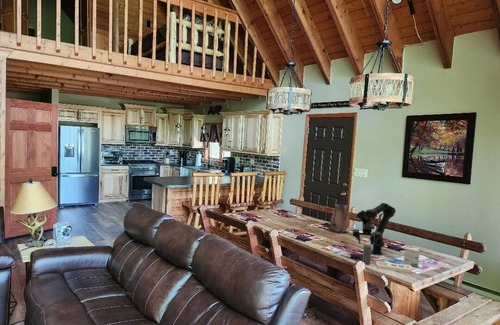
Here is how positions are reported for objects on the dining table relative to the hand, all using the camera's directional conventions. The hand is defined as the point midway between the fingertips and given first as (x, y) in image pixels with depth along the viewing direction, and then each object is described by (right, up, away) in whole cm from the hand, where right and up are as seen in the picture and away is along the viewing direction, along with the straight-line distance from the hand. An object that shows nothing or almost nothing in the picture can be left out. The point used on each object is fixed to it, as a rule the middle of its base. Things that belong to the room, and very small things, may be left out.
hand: (366, 244), depth 233 cm
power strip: (+14, -14, -11) cm, 22 cm away
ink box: (+31, -15, +1) cm, 34 cm away
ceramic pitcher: (+4, -8, +84) cm, 84 cm away
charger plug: (-2, -13, -4) cm, 13 cm away
